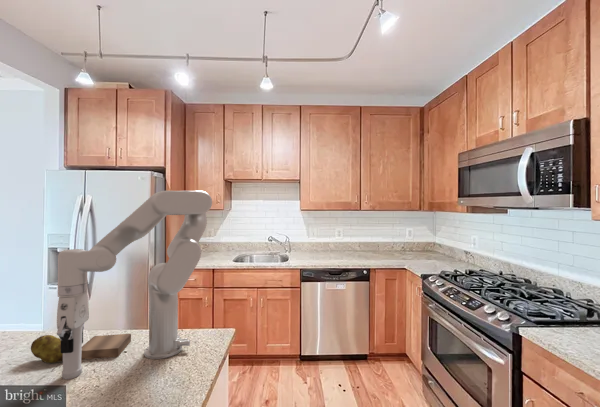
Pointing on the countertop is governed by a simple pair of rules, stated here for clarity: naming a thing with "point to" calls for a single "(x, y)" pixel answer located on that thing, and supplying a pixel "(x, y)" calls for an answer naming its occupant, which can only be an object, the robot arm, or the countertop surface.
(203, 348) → the countertop surface
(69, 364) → the bottle
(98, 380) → the countertop surface
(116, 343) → the walnut plinth
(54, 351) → the potato
